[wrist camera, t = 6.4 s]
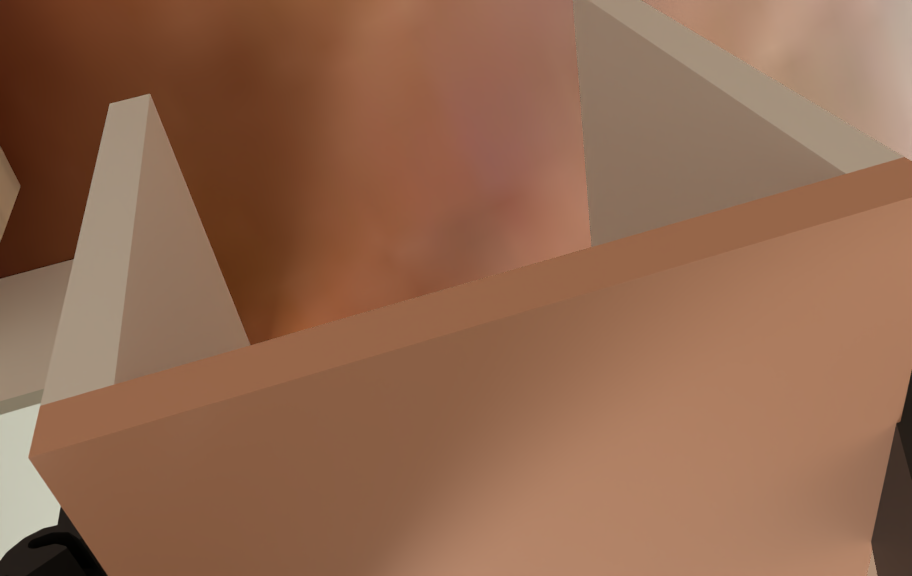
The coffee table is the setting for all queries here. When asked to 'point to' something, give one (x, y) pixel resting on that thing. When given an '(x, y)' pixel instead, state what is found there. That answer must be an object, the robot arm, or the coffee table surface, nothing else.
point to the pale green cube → (26, 395)
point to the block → (6, 191)
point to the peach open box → (514, 360)
